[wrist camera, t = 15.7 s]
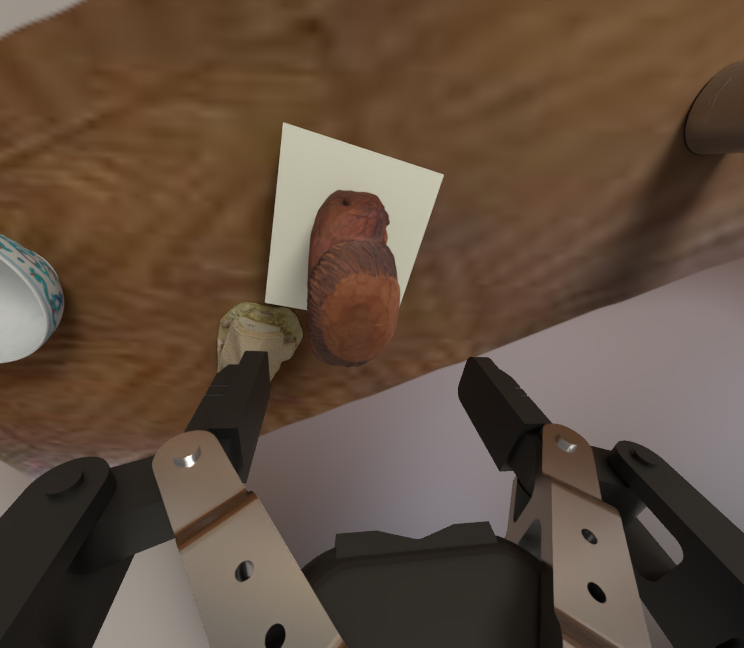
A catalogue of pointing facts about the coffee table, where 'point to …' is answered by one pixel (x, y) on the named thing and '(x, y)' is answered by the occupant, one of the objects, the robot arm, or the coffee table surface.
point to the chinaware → (26, 300)
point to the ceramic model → (258, 334)
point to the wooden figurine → (351, 280)
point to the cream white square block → (319, 180)
